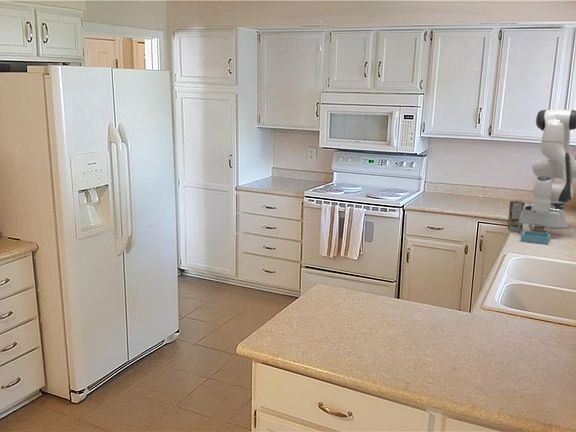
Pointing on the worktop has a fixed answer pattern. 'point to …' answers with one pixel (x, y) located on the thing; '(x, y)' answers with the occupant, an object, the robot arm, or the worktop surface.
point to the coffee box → (515, 216)
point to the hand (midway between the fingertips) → (538, 233)
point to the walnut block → (538, 229)
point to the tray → (535, 237)
